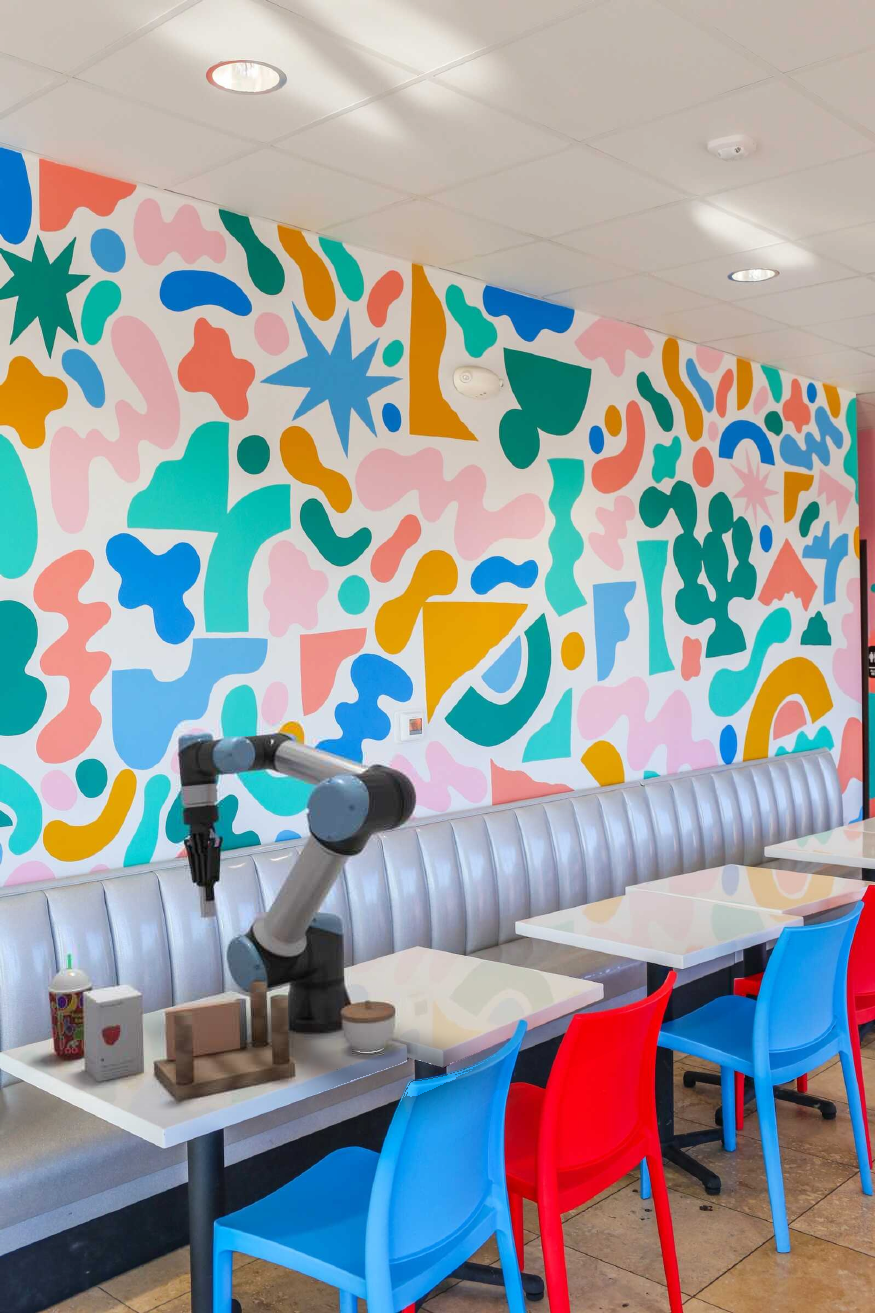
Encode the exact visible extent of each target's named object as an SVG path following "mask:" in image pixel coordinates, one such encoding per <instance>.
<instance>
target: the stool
mask: <svg viewBox="0 0 875 1313" xmlns="http://www.w3.org/2000/svg"><path fill="white" fill-rule="evenodd" d="M267 991H268V990H267V986H266V982H265V981H254V982H251V983H250V993H249V994H250V995H249V998H250V999H249V1001H250V1028H251V1029H250V1031H251V1034H250V1035H251V1041H250V1042H249V1041H248V1042H247V1047H246V1048H239V1049H233V1050H227V1051H221V1052H215V1053H209V1054H203V1055H197V1056H193V1026H192V1013H191V1012H178V1013H175V1014H174V1038H175V1059H173V1060H168V1059H167V1058H162V1059H158V1060H154V1061H153V1065H154V1066H153V1073H154V1075H155V1076H156V1077H157V1079H158V1080H159V1081H160V1082H161V1084H163V1086H164V1087H166V1089H167V1090H168V1092H170V1093H171V1094H172V1095H173V1096H174V1097H175V1099H176V1100H177V1101H178V1102H180V1101H185V1100H189V1099H194V1098H198V1097H204V1096H207V1095H212V1094H217V1093H222V1092H226V1091H227V1092H228V1091H231V1090H235V1089H236V1090H237V1089H240V1088H246V1087H249V1086H254V1085H259V1084H263V1083H268V1082H273V1081H278V1080H281V1078H283V1079H286V1077H287V1078H291V1076H292V1077H296V1062H294V1061H293V1060H292V1059H291V1058H290V1056H291V1055H290V1030H289V1022H288V994H276V995H275V994H274V995H271V996H270V999H269V1001H270V1028H271V1033H270V1034H271V1043H270V1042H269V1022H268V1021H269V1020H268V994H267V993H268V992H267ZM277 1079H278V1080H277Z"/></svg>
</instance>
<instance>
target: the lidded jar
mask: <svg viewBox="0 0 875 1313" xmlns="http://www.w3.org/2000/svg"><path fill="white" fill-rule="evenodd" d="M341 1017H342V1032H343V1036H344V1038H345V1040H346V1042H347V1044H348V1045H349V1046H350V1047H351V1048H353V1051H354V1050H356V1051H360V1052H373V1051H378V1050H381V1049H383V1048H384V1047H385V1048H386V1047H387V1046H388V1044H389V1043H390V1042H391V1040H392V1038H393V1035H394V1033H395V1026H396V1025H395V1024H396V1008H395V1006H394V1005H393V1004H392V1003H388V1002H385V1001H371V1000H369V999H367V1000H365V1001H362V1002H361V1001H360V1002H356V1003H352V1004H351V1005H348V1006H346V1007H344V1008H343V1009H342V1010H341ZM356 1051H355V1052H356Z"/></svg>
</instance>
